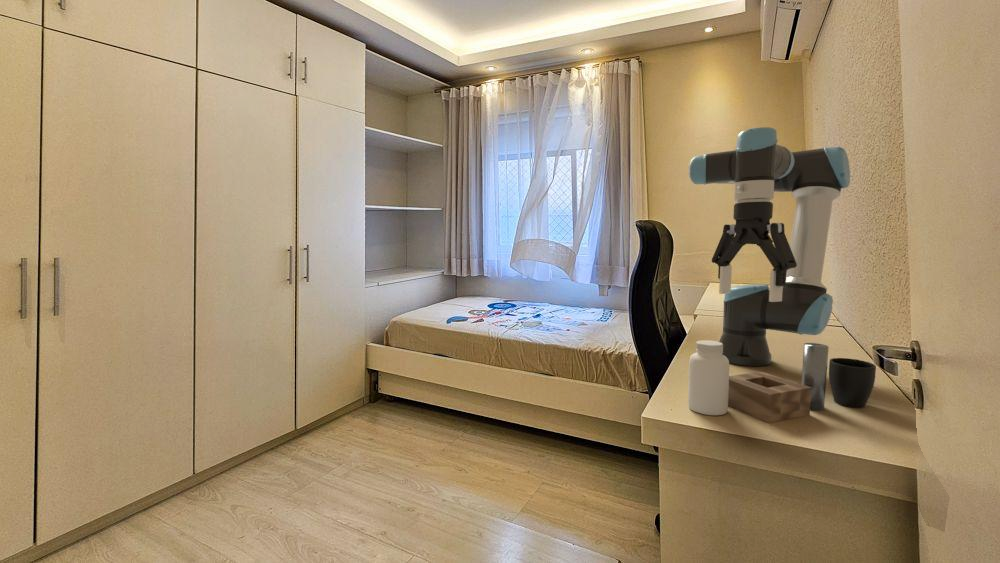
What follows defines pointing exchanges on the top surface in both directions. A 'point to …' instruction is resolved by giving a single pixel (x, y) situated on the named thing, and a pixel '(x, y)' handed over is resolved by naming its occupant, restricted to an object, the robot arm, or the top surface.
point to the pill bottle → (708, 379)
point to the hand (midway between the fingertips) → (748, 297)
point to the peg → (815, 373)
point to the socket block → (768, 396)
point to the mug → (851, 381)
